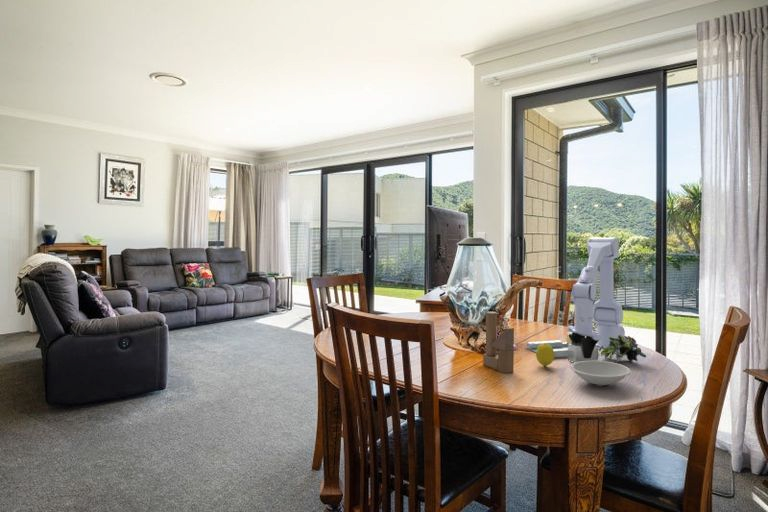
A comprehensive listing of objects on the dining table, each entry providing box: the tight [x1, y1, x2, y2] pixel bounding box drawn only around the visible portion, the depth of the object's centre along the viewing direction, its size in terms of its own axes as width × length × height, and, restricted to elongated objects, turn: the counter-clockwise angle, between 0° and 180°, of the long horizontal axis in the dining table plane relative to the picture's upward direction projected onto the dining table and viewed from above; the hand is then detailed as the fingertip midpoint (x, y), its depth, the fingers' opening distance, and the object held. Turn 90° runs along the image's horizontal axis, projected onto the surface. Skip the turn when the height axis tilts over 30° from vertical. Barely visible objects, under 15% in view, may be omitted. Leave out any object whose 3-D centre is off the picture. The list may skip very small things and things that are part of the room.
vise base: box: [524, 346, 601, 359], centre depth 155 cm, size 21×15×2 cm
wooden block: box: [482, 311, 515, 374], centre depth 135 cm, size 4×11×18 cm, turn 26°
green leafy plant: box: [598, 335, 647, 363], centre depth 141 cm, size 11×11×12 cm
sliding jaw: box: [526, 333, 572, 349], centre depth 160 cm, size 20×2×4 cm, turn 103°
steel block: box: [567, 343, 599, 363], centre depth 143 cm, size 9×4×6 cm, turn 103°
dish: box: [570, 360, 631, 387], centre depth 119 cm, size 18×14×5 cm
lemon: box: [535, 343, 555, 368], centre depth 136 cm, size 6×6×8 cm
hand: (583, 356), depth 143 cm, fingers closed on steel block, 4 cm apart
